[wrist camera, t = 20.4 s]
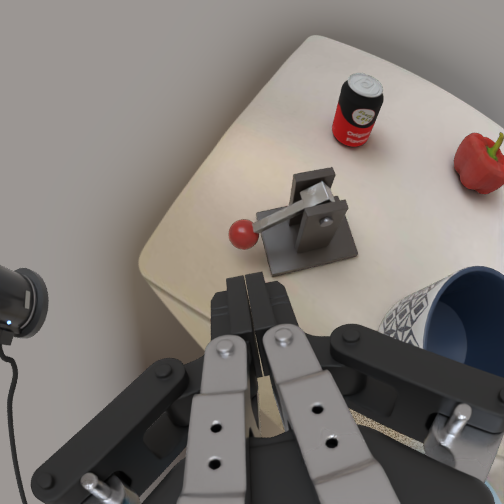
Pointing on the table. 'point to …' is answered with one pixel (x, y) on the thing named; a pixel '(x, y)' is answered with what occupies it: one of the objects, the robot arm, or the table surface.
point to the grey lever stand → (309, 230)
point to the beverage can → (357, 109)
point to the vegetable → (480, 163)
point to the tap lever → (278, 216)
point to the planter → (455, 318)
